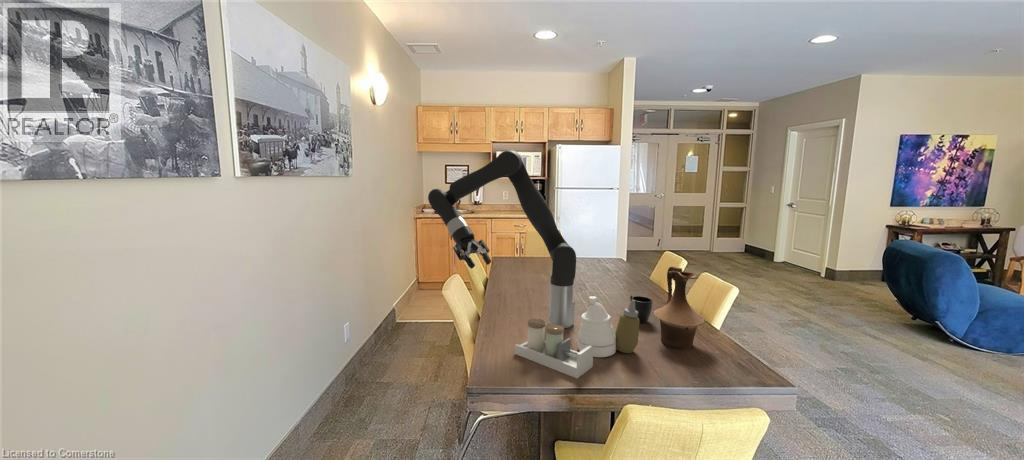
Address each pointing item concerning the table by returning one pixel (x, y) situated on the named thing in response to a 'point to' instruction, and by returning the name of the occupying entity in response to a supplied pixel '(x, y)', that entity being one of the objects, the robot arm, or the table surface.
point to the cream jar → (536, 334)
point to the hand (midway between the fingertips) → (481, 265)
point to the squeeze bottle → (628, 329)
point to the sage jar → (553, 339)
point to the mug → (642, 307)
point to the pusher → (564, 350)
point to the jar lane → (568, 366)
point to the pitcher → (678, 313)
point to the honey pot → (597, 331)
